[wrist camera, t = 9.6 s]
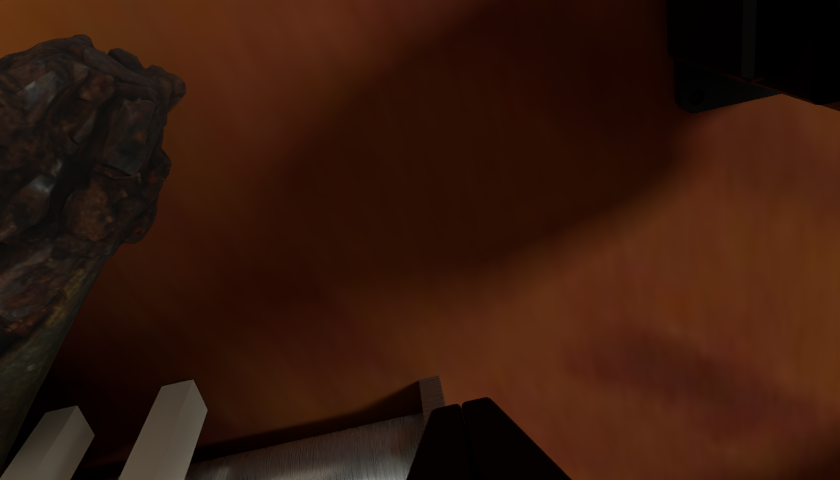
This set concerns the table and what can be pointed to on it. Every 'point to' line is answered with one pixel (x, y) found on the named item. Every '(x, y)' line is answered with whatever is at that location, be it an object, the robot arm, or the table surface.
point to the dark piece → (69, 193)
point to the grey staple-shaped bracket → (150, 457)
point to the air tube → (333, 451)
